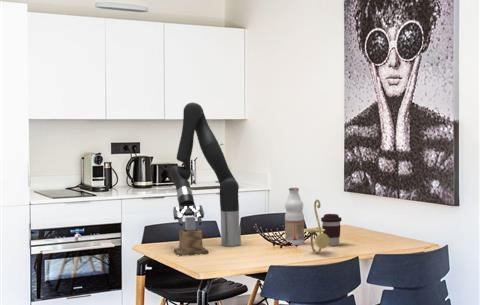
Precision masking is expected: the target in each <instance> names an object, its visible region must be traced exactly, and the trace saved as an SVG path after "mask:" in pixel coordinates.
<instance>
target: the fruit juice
mask: <svg viewBox="0 0 480 305" xmlns="http://www.w3.org/2000/svg"><path fill="white" fill-rule="evenodd" d="M288 191H289V194H288V196H287V199H286V201H285V203H284V204H285V205H284V209H285V214H284V226H285V227H284V228H285V230H284V232H285V234H284V236H285V237H284V238H285V240H286V241H287V242H290V243H292V244H291V246H299V245H300V246H301V245H304V244H305V219H304V218H305V215H304V212H303V209H304V203H303V201H302V200H301V197H300V193H299V191H300V188H299V187H289V188H288Z"/></svg>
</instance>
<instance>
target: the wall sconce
mask: <svg viewBox="0 0 480 305" xmlns="http://www.w3.org/2000/svg"><path fill="white" fill-rule="evenodd" d="M320 208H321V201H320V200H319V199H318V198H317V199H315V200H314V203H313V210H314V216H315V218H316V222H317V227H318V228H316V227H315V228H314V227H313V228H304V232H308V233H311V234H310V246H311V250H312V251H313V253H314V254H317V255H318V254H320V253H321V250H322V249H325V248H327V247H329V246H328V245H329V237H328V236H327V235H326V234H324V233H323V231H325V229H322V228H321V227H322V226H321V224H320V222H321V221H320V219H319V214H318V211H317V209H320ZM313 240H314V241H313ZM314 243H315V245H316V247H318V251H316V249H315V247H314Z"/></svg>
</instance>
